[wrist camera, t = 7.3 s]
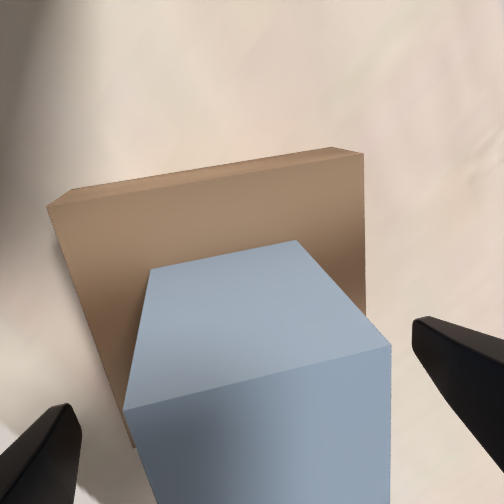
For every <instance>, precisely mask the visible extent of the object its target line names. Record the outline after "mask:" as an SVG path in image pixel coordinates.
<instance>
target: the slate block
mask: <svg viewBox="0 0 504 504" xmlns="http://www.w3.org/2000/svg"><path fill="white" fill-rule="evenodd" d="M123 413H124V416H125V419H126V421H127V424H128V427H129V429H130V432H131V435H132V437H133V440H134V443H135V445H136V448H137V451H138V453H139V456H140V459H141V461H142V464H143V467H144V469H145V472H146V475H147V477H148V480H149V483H150V485H151V488H152V491H153V493H154V496H155V499H156V501H157V504H390V446H391V344H390V343H389V341H388V340H387V339H386V338H385V337H384V336H383V335H382V334H381V333H380V332H379V330H378V329H377V328H376V327H375V326H374V325H373V324H372V323H371V322H370V321H369V319H368V318H367V317H366V316H365V315H364V314H363V313H362V312H361V311H360V309H359V308H358V307H357V306H356V305H355V304H354V303H353V302H352V301H351V300H350V298H349V297H348V296H347V295H346V294H345V293H344V292H343V291H342V290H341V289H340V287H339V286H338V285H337V284H336V283H335V282H334V281H333V280H332V279H331V278H330V276H329V275H328V274H327V273H326V272H325V271H324V270H323V269H322V268H321V267H320V265H319V264H318V263H317V262H316V261H315V260H314V259H313V258H312V257H311V256H310V254H309V253H308V252H307V251H306V250H305V249H304V248H303V247H302V246H301V245H300V243H299V242H298V241H297V240H293V241H288V242H283V243H278V244H273V245H268V246H263V247H258V248H253V249H248V250H243V251H238V252H233V253H229V254H224V255H219V256H214V257H209V258H204V259H199V260H194V261H189V262H184V263H179V264H174V265H169V266H164V267H160V268H155V269H151V270H150V275H149V280H148V285H147V290H146V295H145V300H144V305H143V310H142V315H141V320H140V325H139V330H138V335H137V340H136V345H135V350H134V355H133V361H132V366H131V371H130V376H129V381H128V386H127V391H126V396H125V401H124V406H123Z"/></svg>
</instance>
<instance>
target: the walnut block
mask: <svg viewBox="0 0 504 504" xmlns="http://www.w3.org/2000/svg"><path fill="white" fill-rule="evenodd" d="M46 208H47V211H48V214H49V217H50V219H51V222H52V225H53V228H54V230H55V233H56V236H57V239H58V242H59V244H60V247H61V250H62V253H63V255H64V258H65V261H66V264H67V266H68V269H69V272H70V275H71V278H72V280H73V283H74V286H75V289H76V291H77V294H78V297H79V300H80V303H81V305H82V308H83V311H84V314H85V316H86V319H87V322H88V325H89V327H90V330H91V333H92V336H93V339H94V341H95V344H96V347H97V350H98V352H99V355H100V358H101V361H102V364H103V366H104V369H105V372H106V375H107V377H108V380H109V383H110V386H111V388H112V391H113V394H114V397H115V400H116V402H117V405H118V408H119V411H120V413H121V416H122V419H123V422H124V425H125V427H126V430H127V433H128V436H129V438H130V441H131V444H132V447H133V448H136V445H135V443H134V440H133V437H132V435H131V432H130V429H129V427H128V424H127V421H126V419H125V416H124V413H123V406H124V401H125V396H126V391H127V386H128V381H129V376H130V371H131V366H132V361H133V355H134V350H135V345H136V340H137V335H138V330H139V325H140V320H141V315H142V310H143V305H144V300H145V295H146V290H147V285H148V280H149V275H150V270H151V269H155V268H160V267H164V266H169V265H174V264H179V263H184V262H189V261H194V260H199V259H204V258H209V257H214V256H219V255H224V254H229V253H233V252H238V251H243V250H248V249H253V248H258V247H263V246H268V245H273V244H278V243H283V242H288V241H293V240H297V241H298V242H299V243H300V245H301V246H302V247H303V248H304V249H305V250H306V251H307V252H308V253H309V254H310V256H311V257H312V258H313V259H314V260H315V261H316V262H317V263H318V264H319V265H320V267H321V268H322V269H323V270H324V271H325V272H326V273H327V274H328V275H329V276H330V278H331V279H332V280H333V281H334V282H335V283H336V284H337V285H338V286H339V287H340V289H341V290H342V291H343V292H344V293H345V294H346V295H347V296H348V297H349V298H350V300H351V301H352V302H353V303H354V304H355V305H356V306H357V307H358V308H359V309H360V311H361V312H362V313H363V314H364V315H365V316H366V287H365V217H364V154H363V153H358V152H354V151H349V150H344V149H339V148H334V147H328V148H322V149H316V150H310V151H303V152H297V153H291V154H285V155H279V156H273V157H267V158H260V159H254V160H248V161H242V162H236V163H230V164H224V165H217V166H211V167H205V168H199V169H193V170H187V171H181V172H174V173H168V174H162V175H156V176H150V177H144V178H138V179H131V180H125V181H119V182H113V183H107V184H101V185H95V186H89V187H82V188H76V189H71V190H70V191H68V192H67V193H65V194H64V195H63V196H61V197H60V198H58V199H57V200H55V201H54V202H52V203H51V204H49V205H48V206H46Z"/></svg>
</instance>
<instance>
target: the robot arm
mask: <svg viewBox="0 0 504 504" xmlns="http://www.w3.org/2000/svg"><path fill="white" fill-rule="evenodd" d="M412 348H413V351H414V353H415V355H416V356H417V358H418V359H419V361H420V362H421V364H422V365H423V367H424V368H425V370H426V371H427V373H428V375H429V376H430V378H431V379H432V381H433V382H434V384H435V385H436V387H437V388H438V390H439V391H440V393H441V394H442V396H443V397H444V399H445V400H446V401H447V403H448V404H449V405H450V407H451V408H452V409H453V411H454V412H455V413H456V414H457V416H458V417H459V418H460V419H461V420H462V422H463V423H464V424H465V425H466V427H467V428H468V429H469V430H470V432H471V433H472V434H473V435H474V437H475V438H476V439H477V440H478V442H479V443H480V444H481V445H482V447H483V448H484V449H485V450H486V452H487V453H488V454H489V455H490V457H491V458H492V459H493V460H494V462H495V463H496V464H497V465H498V466H499V468H500V469H501V470H502V471H503V473H504V340H503V339H500V338H496V337H493V336H490V335H487V334H484V333H481V332H478V331H474V330H471V329H468V328H465V327H462V326H459V325H456V324H452V323H449V322H446V321H443V320H440V319H437V318H434V317H430V316H426V317H421V318H417V319H415V320H414V321H413V324H412ZM81 441H82V430H81V426H80V424H79V422H78V419H77V417H76V415H75V413H74V410H73V408H72V406H71V405H70V404H68V403H64V404H60V405H56V406H52V407H50V408H49V409H48V410H47V411H46V412H45V413H44V414H43V415H41V416H40V417H39V418H38V419H37V420H36V421H35V422H34V423H33V424H32V425H31V426H30V427H29V428H28V429H27V430H26V431H25V432H24V433H23V434H22V435H21V436H20V437H19V438H18V439H17V440H16V441H15V442H13V444H11V445H10V447H8V448H7V449H6V450H5V451H4V452H3V453H2V454H1V455H0V504H73V502H74V495H75V489H76V481H77V473H78V465H79V457H80V449H81Z"/></svg>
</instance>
